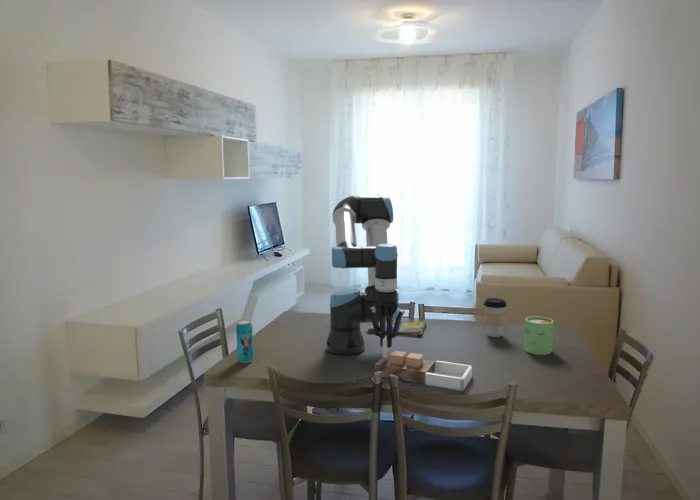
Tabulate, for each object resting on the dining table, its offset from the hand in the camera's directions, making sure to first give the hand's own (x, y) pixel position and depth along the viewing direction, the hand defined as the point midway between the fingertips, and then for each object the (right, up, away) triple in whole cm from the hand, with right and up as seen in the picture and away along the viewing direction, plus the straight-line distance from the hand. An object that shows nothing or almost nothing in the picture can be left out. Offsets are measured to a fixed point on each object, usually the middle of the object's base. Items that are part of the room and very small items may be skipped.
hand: (386, 355), depth 192 cm
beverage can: (-51, -4, +12) cm, 53 cm away
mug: (+61, -2, +20) cm, 64 cm away
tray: (+20, -7, -8) cm, 23 cm away
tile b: (+10, -2, -4) cm, 11 cm away
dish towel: (+8, +2, +49) cm, 50 cm away
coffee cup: (+48, +1, +40) cm, 62 cm away
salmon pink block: (+4, -2, -1) cm, 5 cm away
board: (+6, -6, -2) cm, 9 cm away
